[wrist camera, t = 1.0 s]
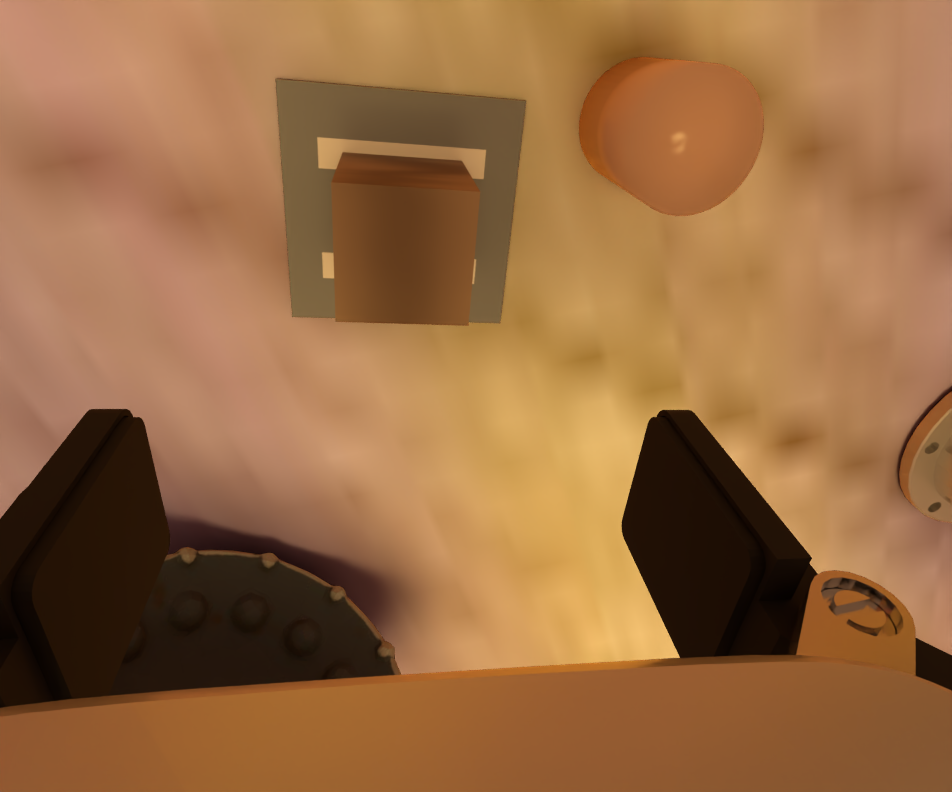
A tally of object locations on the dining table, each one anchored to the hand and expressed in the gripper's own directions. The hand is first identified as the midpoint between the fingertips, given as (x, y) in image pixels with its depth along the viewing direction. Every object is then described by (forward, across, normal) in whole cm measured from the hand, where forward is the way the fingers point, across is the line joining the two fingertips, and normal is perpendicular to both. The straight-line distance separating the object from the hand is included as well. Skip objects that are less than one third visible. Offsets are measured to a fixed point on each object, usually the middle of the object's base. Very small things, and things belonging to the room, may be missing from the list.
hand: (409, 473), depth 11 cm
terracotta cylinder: (+18, -10, -5) cm, 22 cm away
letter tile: (+18, 0, 0) cm, 18 cm away
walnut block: (+18, 0, 0) cm, 18 cm away
